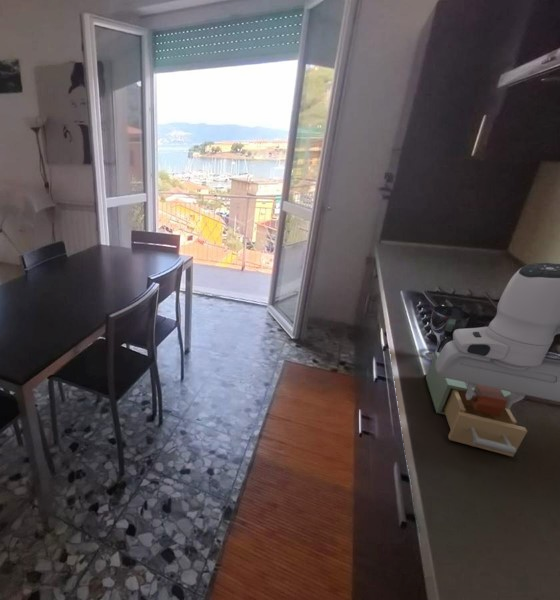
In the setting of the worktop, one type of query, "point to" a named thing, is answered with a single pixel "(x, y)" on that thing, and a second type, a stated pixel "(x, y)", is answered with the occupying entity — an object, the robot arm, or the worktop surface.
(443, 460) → the worktop surface
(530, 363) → the robot arm
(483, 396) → the block
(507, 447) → the drawer
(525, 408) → the worktop surface
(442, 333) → the wine glass
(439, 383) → the cabinet
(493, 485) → the worktop surface
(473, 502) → the worktop surface
